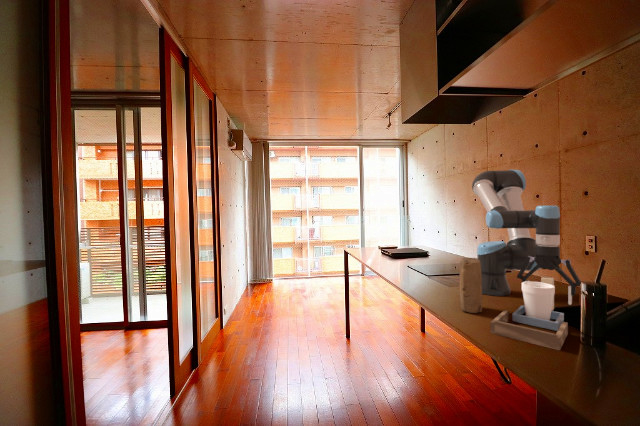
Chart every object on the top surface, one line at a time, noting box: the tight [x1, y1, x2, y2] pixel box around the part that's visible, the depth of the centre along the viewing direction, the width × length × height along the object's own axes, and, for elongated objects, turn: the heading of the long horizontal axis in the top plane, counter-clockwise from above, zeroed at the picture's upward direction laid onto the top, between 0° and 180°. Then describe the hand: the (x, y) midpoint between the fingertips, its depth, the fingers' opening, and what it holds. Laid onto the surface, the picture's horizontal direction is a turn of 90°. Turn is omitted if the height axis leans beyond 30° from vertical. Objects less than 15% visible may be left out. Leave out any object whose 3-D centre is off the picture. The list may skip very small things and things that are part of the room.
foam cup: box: [521, 280, 556, 321], centre depth 107 cm, size 10×9×13 cm
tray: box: [511, 276, 565, 332], centre depth 112 cm, size 25×13×12 cm, turn 135°
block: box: [459, 257, 483, 314], centre depth 121 cm, size 11×8×20 cm
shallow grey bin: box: [489, 309, 569, 351], centre depth 97 cm, size 16×18×4 cm
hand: (547, 300), depth 120 cm, fingers open, 13 cm apart
